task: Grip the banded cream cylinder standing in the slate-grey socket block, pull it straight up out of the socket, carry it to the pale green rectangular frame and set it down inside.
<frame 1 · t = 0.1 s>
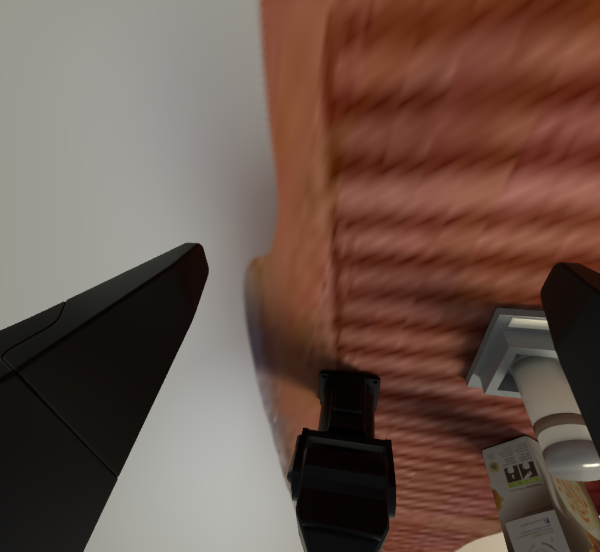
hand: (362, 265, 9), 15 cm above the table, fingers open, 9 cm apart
coffee box: (527, 455, 40), on the table
banded cream cylinder: (530, 358, 29), point 1 cm above the table, touching socket block
socket block: (527, 351, 29), on the table
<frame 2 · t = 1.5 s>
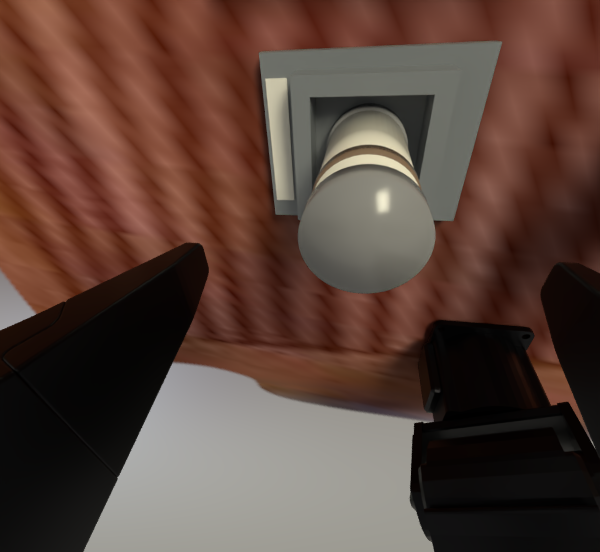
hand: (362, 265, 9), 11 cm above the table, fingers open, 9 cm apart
banded cream cylinder: (366, 145, 16), point 1 cm above the table, touching socket block
socket block: (366, 140, 17), on the table
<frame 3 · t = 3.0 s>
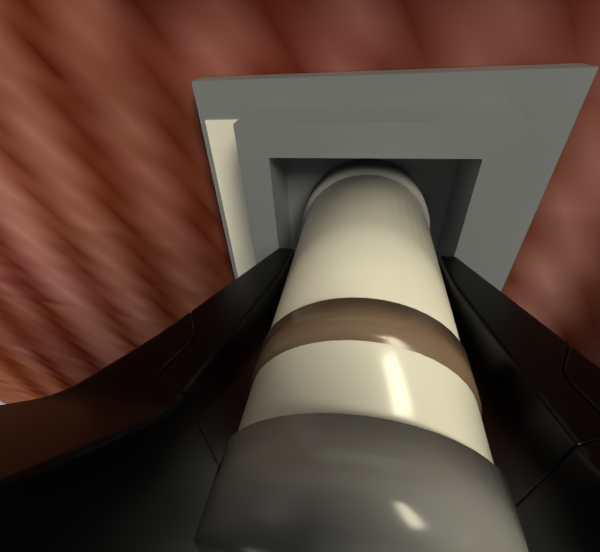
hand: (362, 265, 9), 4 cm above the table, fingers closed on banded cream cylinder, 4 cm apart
banded cream cylinder: (364, 216, 11), point 1 cm above the table, touching gripper, socket block
socket block: (364, 205, 11), on the table
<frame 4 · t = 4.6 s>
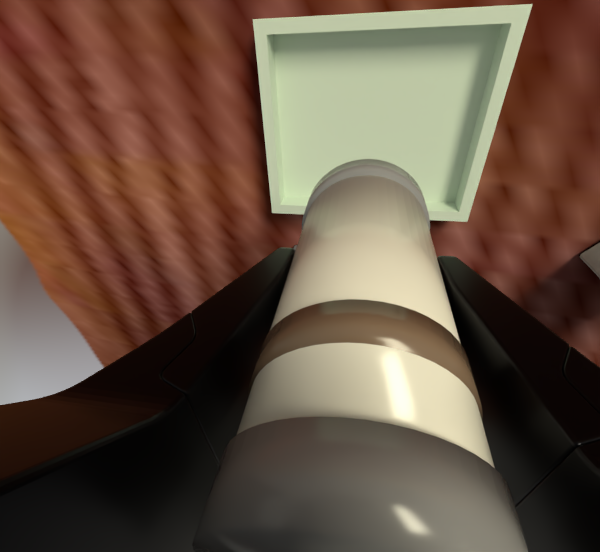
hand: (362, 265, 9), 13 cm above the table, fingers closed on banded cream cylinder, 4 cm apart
banded cream cylinder: (363, 217, 11), point 11 cm above the table, touching gripper
pale green rectangular frame: (372, 124, 19), on the table
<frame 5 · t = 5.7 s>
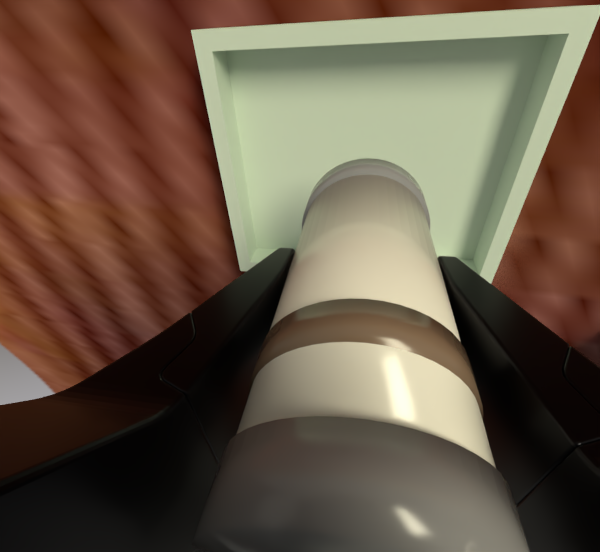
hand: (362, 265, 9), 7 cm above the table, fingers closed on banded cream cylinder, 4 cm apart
banded cream cylinder: (364, 216, 11), point 5 cm above the table, touching gripper
pale green rectangular frame: (365, 163, 14), on the table
when the fingers open (4 cm above the table, at t = 6.6 s): banded cream cylinder stays where it is, resting on pale green rectangular frame.
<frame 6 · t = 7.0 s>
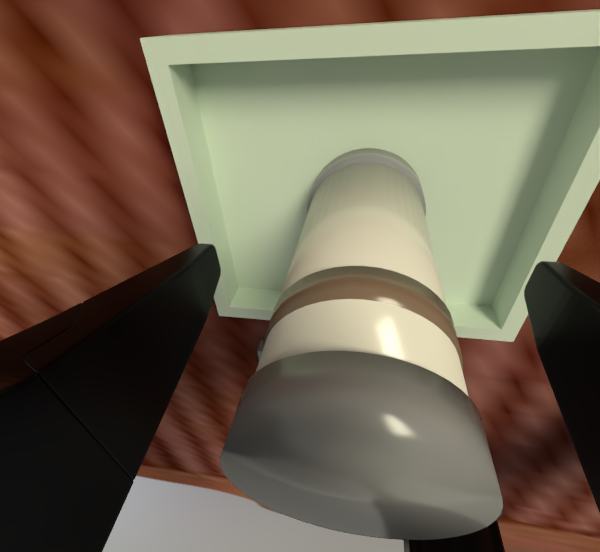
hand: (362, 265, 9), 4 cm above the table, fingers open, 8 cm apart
banded cream cylinder: (364, 203, 11), point 1 cm above the table, touching pale green rectangular frame
pale green rectangular frame: (364, 196, 12), on the table
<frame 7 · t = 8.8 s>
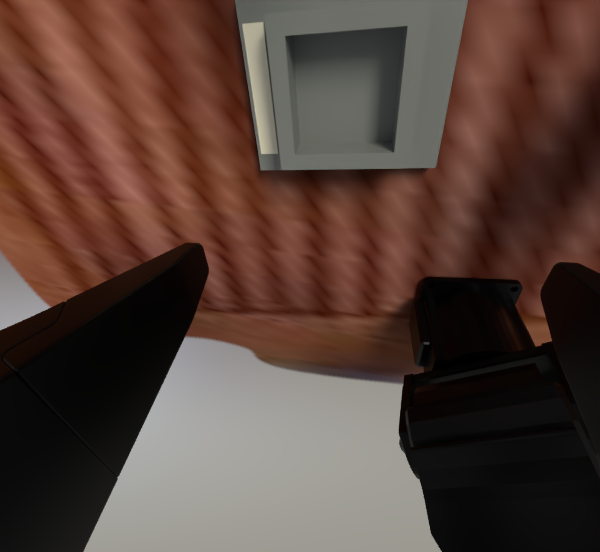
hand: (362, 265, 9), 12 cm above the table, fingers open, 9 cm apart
socket block: (346, 87, 17), on the table
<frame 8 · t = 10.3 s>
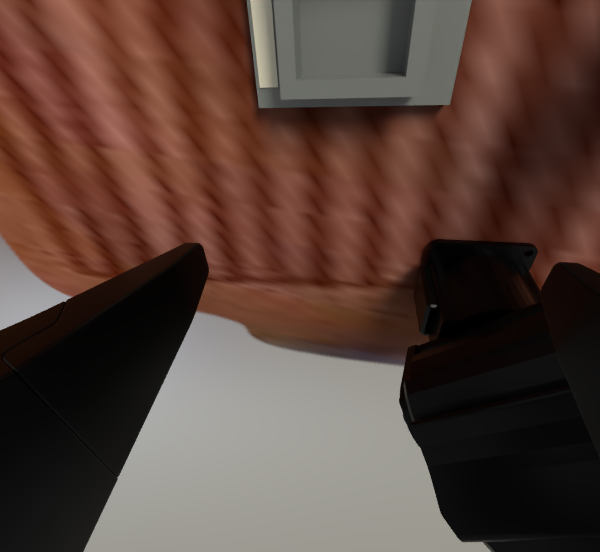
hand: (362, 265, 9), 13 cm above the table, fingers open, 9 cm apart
socket block: (354, 9, 15), on the table
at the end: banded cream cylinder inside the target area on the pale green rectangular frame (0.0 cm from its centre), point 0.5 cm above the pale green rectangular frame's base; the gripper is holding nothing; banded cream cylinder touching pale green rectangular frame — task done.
